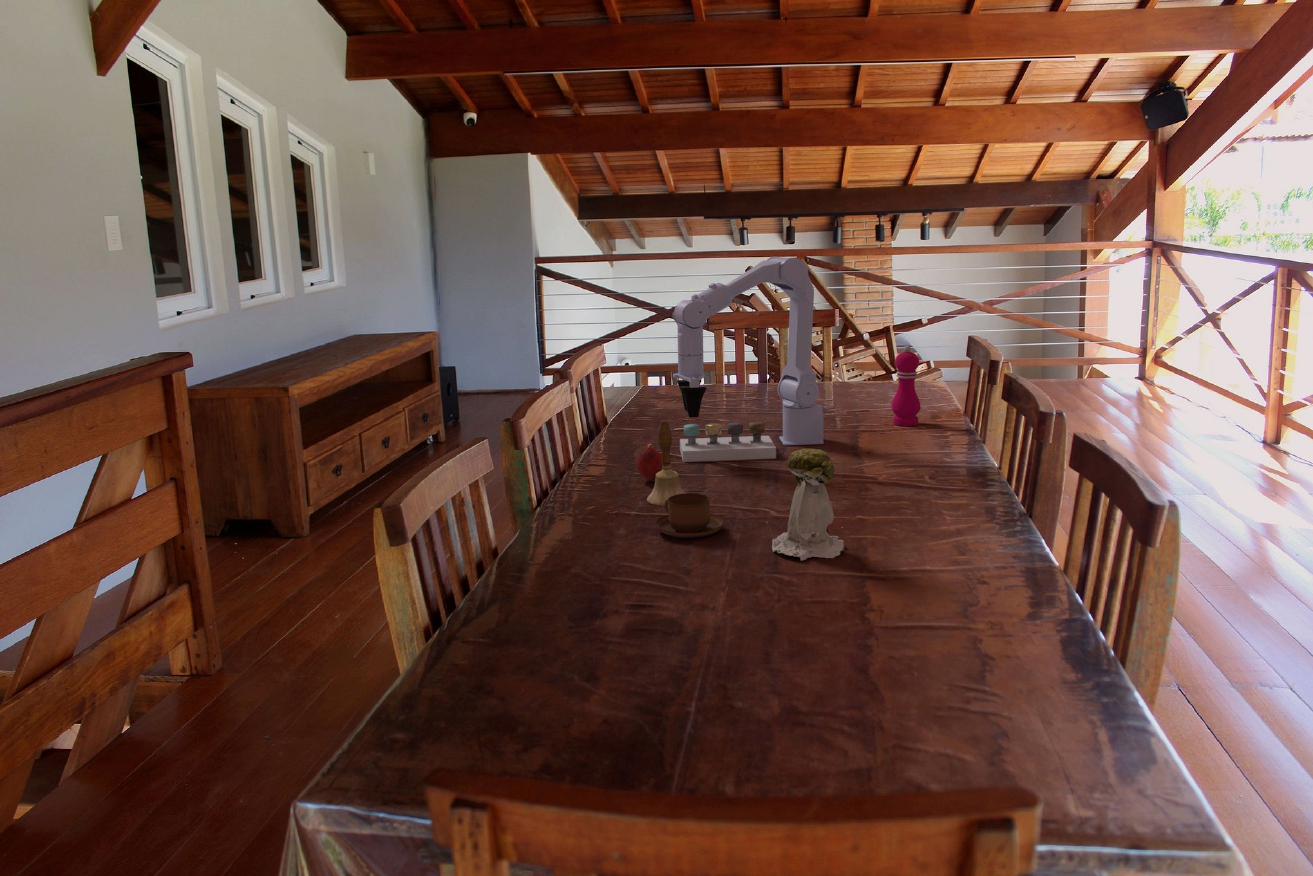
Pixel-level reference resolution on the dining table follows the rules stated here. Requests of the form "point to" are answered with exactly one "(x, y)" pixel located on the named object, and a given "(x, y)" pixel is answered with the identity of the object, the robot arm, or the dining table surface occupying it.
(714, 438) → the brass dome cap
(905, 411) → the pepper mill
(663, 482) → the hand bell
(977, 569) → the dining table surface
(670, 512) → the cup and saucer
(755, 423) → the walnut key
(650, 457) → the onion
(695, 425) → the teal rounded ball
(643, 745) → the dining table surface
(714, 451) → the console
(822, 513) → the moss topped figurine
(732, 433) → the dark grey rounded knob
